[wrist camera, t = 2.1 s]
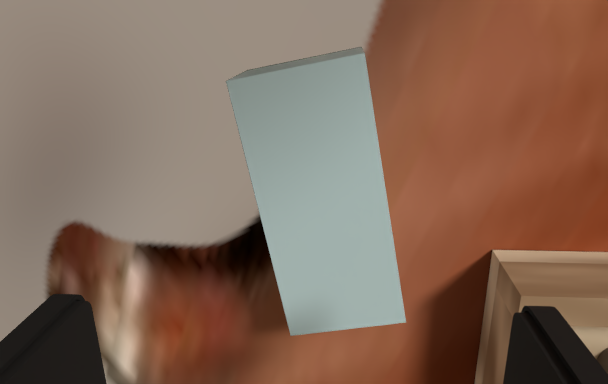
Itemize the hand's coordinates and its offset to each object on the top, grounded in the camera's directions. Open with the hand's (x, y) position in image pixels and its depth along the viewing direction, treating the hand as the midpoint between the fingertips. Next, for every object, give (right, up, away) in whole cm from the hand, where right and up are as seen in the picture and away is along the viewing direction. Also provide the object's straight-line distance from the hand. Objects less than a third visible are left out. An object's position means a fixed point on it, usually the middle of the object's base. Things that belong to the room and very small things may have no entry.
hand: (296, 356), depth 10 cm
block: (+1, +4, +9) cm, 10 cm away
